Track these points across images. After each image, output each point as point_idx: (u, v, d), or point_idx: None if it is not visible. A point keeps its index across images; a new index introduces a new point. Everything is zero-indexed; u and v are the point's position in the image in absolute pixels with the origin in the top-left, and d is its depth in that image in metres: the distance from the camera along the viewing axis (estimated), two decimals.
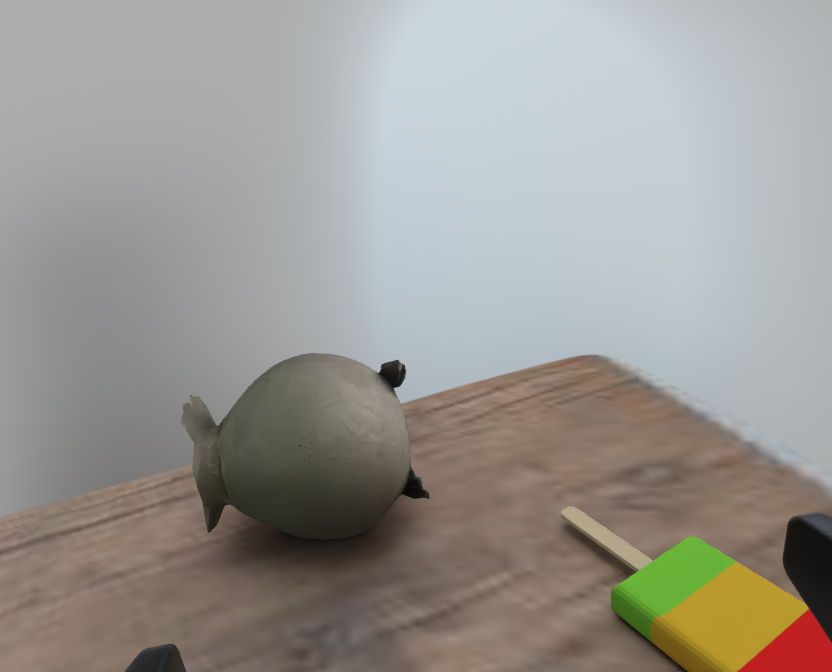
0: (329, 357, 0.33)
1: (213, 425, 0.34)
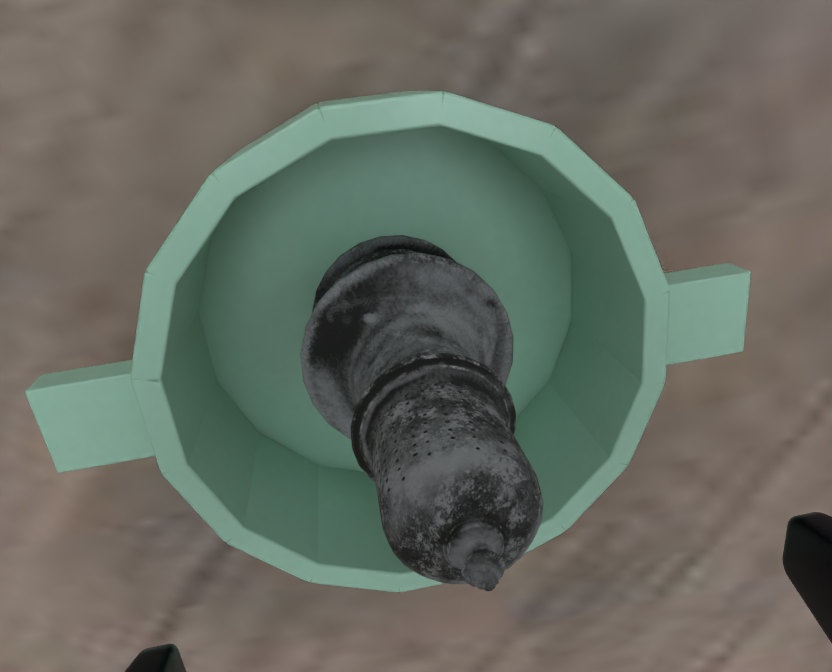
0: None
1: None
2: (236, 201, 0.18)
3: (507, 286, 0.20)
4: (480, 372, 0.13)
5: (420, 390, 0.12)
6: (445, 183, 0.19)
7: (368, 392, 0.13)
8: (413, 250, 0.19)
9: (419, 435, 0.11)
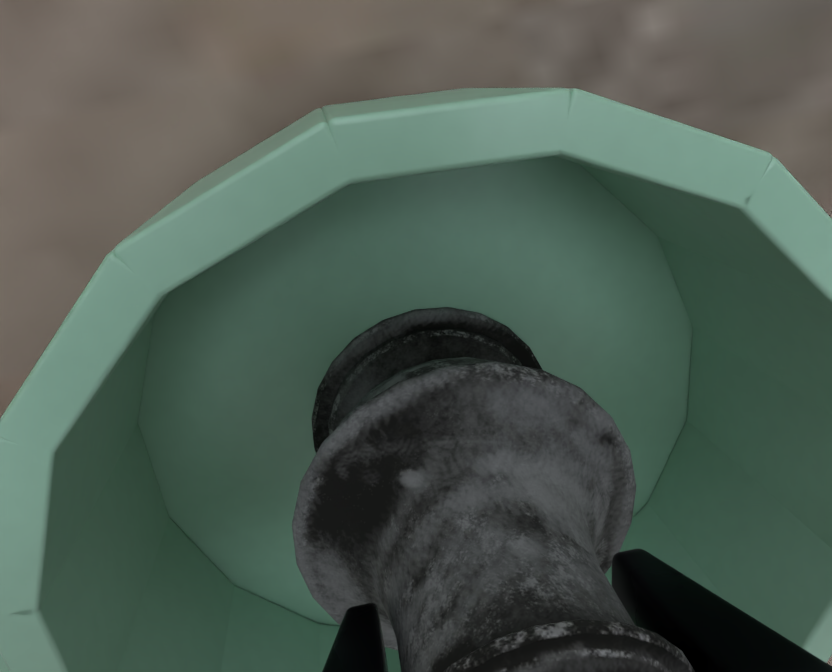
0: None
1: None
2: None
3: (598, 376, 0.14)
4: (651, 654, 0.06)
5: None
6: (515, 230, 0.12)
7: None
8: (465, 331, 0.13)
9: None
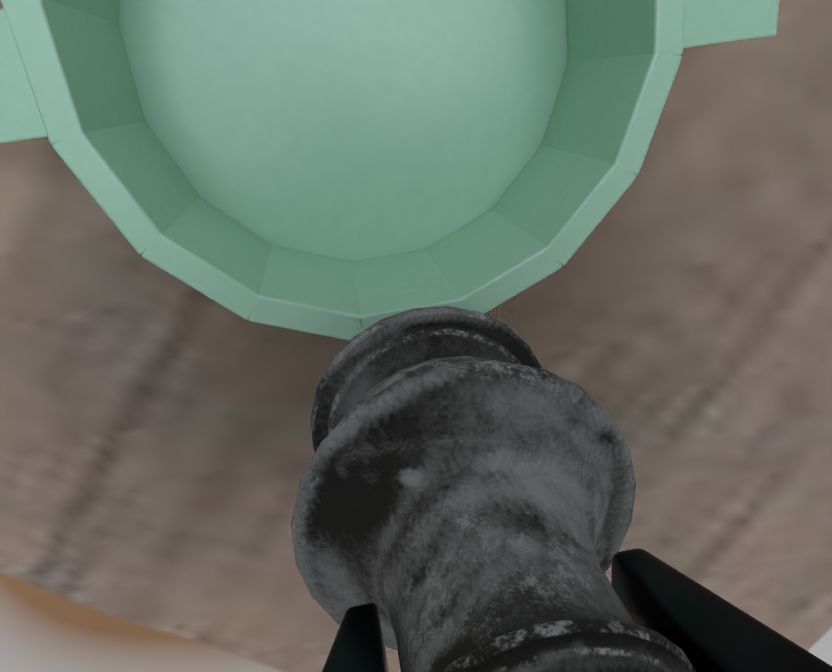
0: None
1: None
2: None
3: (490, 12, 0.17)
4: (651, 652, 0.06)
5: None
6: None
7: None
8: (464, 330, 0.13)
9: None
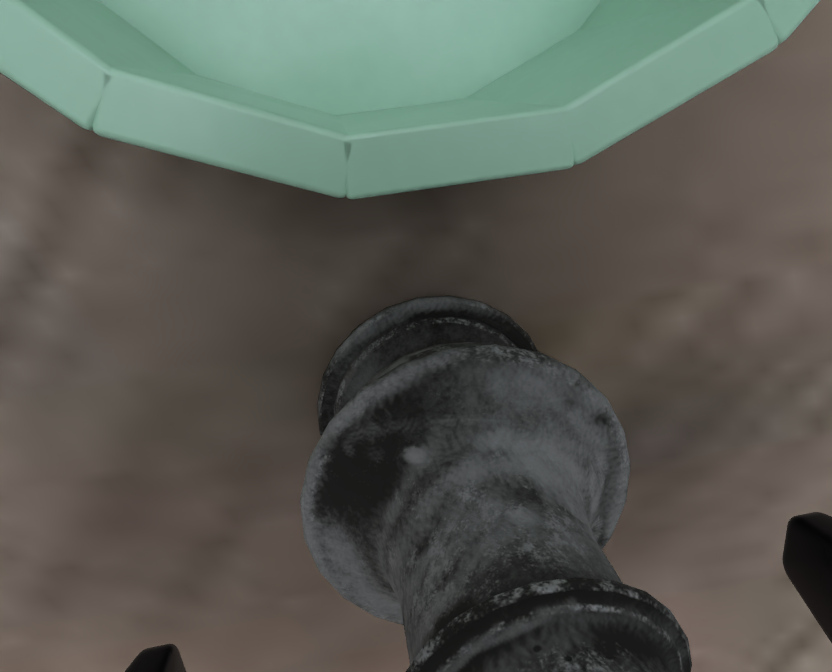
0: None
1: None
2: None
3: None
4: (640, 610, 0.07)
5: None
6: None
7: (430, 656, 0.07)
8: (465, 318, 0.13)
9: None
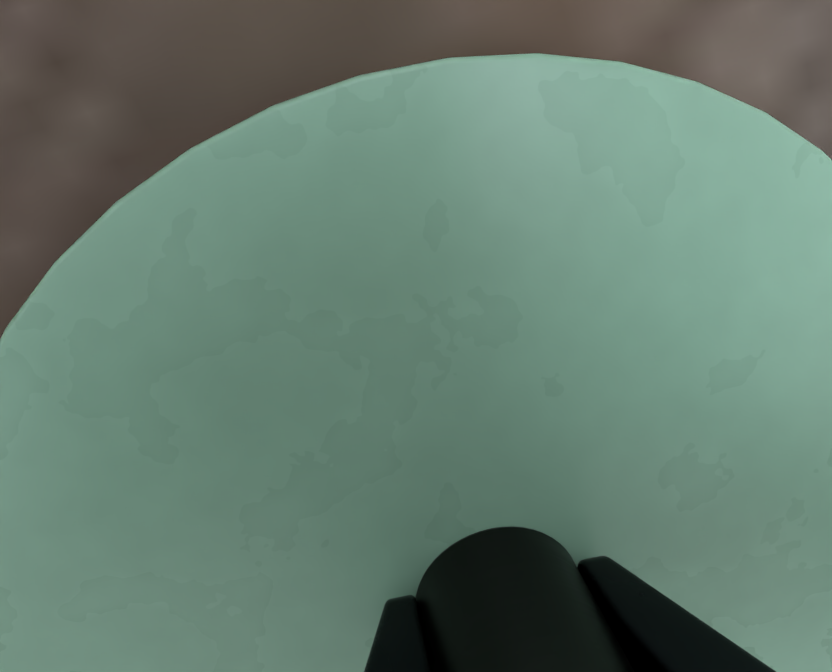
0: None
1: None
2: None
3: None
4: None
5: None
6: None
7: None
8: None
9: None
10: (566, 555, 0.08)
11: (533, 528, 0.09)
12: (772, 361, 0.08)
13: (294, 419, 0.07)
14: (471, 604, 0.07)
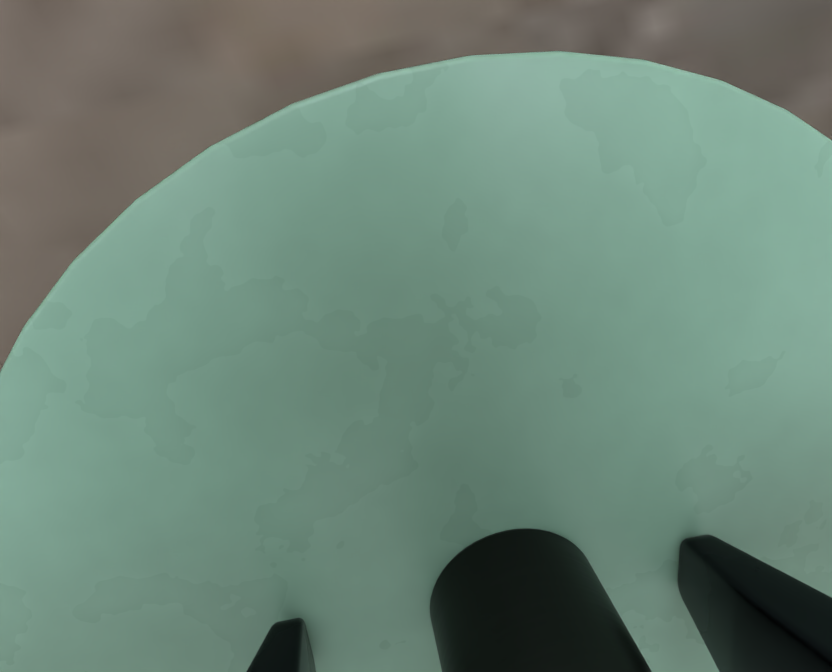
0: None
1: None
2: None
3: None
4: None
5: None
6: None
7: None
8: None
9: None
10: (583, 557, 0.08)
11: (549, 530, 0.09)
12: (792, 362, 0.08)
13: (310, 420, 0.07)
14: (488, 607, 0.07)
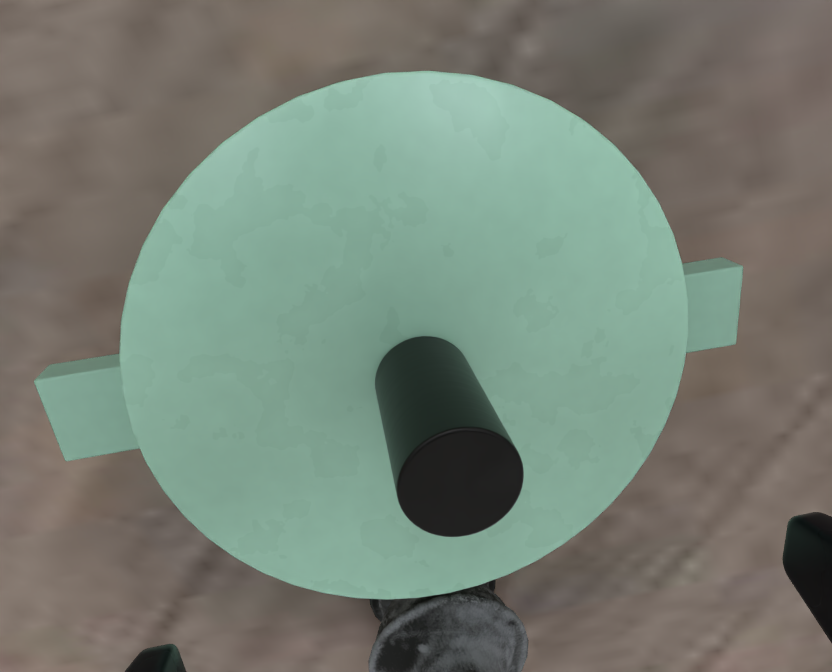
0: None
1: None
2: None
3: None
4: None
5: None
6: None
7: None
8: None
9: None
10: (459, 351, 0.15)
11: (442, 338, 0.15)
12: (572, 240, 0.15)
13: (307, 264, 0.14)
14: (401, 363, 0.14)
